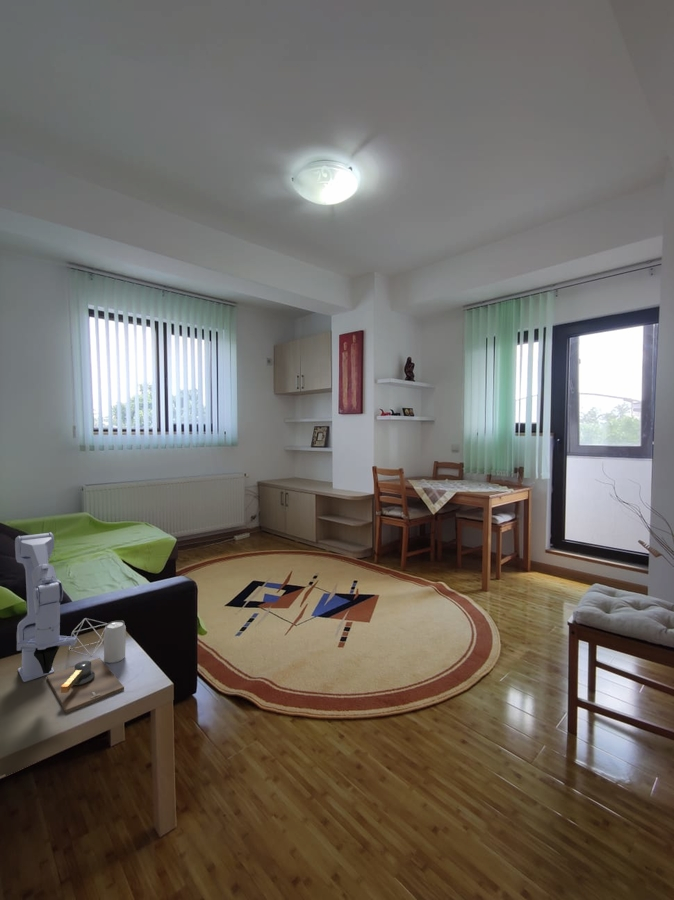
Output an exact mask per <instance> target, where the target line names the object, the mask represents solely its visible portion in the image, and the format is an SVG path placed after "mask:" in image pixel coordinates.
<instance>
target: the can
mask: <svg viewBox="0 0 674 900" xmlns="http://www.w3.org/2000/svg"><path fill="white" fill-rule="evenodd" d="M105 627H106V628H105ZM105 627H104V629H105V630H103V631H104V632H103V634H104V635H103V638H104V641H103V662H104V663H105V664H106V663H107V664H116V663H119V662H121V661H123V660H124V658H126V643H127V642H126V641H127V640H126V638H127V636H126V634H127V629H126V628H127V627H126V625H125V621H124V620H114V621H110V622H108V623H107V624H106V625H105Z"/></svg>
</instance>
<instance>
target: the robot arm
mask: <svg viewBox="0 0 674 900" xmlns="http://www.w3.org/2000/svg"><path fill="white" fill-rule="evenodd" d="M54 548H55V536H54V533H52V532H51V531H50V532H44V533H38V534H37V533H35V534H27V535H18V536H17V537H15V539H14V549H15V560H16V563H19V564H22V565H23V568H24V569H25V571H24V572H25V584H26V585H25V588H26V590H25V591H26V592H25V593H26V609H27V614H26V616H25V617H23V618H22V619H21V620H20V621H19V622H18V624H17V627H16V628H17V629H16V651H17V652H18V651H21V667H19V668H17V671H18V674H19V675H20V678H21V680H22V681H23V683H26V682H29V681H32V680H36V679H38V678H41V677H44V676H47V675H50V674H53V673H55V670H54V667H53V664H54V661H55V658H56V655H57V653H58V651H59V649H60V648H61V647H68V646H69V645H70V646H71V647H75V646H77V644H78V640H77V638H78V636H76V637H75V636H72V637H71V635H70V636H67V635H60V632H61V631H60V630H61V626H60V625H61V624H60V623H61V602H62V601H63V597H64V588H63V584H62V582H61V580H60V579H59V578H57V573H56V570H55V567H54V566H53V565H52V564H50V562H49V559H50V558H51V556H52V554H53V551H54Z"/></svg>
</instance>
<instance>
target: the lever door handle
mask: <svg viewBox="0 0 674 900" xmlns="http://www.w3.org/2000/svg"><path fill="white" fill-rule="evenodd" d="M90 661H91V660H83V661H80V662H78V663H76V664H75V665H74V666H75V672H74V673H73V674H72V676H70V677H69V679H68V680H67V681H66V682H65V683H64V684H63V685H62V686H61V693H68V692H69V690H70V688H71V687H72V686H79V685H83V684H86V683H88V682H90V681H91V680H93V679H94V677H95V673H94V672H93V671H91V662H90Z"/></svg>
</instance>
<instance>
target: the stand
mask: <svg viewBox="0 0 674 900" xmlns="http://www.w3.org/2000/svg"><path fill="white" fill-rule="evenodd" d="M89 661H90V662H91V671H93V672H94V673H95V677H94V679H93V680H91V681H90V682H88V683H86V684H83V685H79V686H72V687H71V688H70V690H69V692H68V693H61V686H62V685H63V684H64V683H65V682H66V681H67V680H68V679H69V677H70V676H72V674H73V673H74V672H75V665H74V666H72V667H71V666H70V667H68V668H66V669H63V670H60V671H55V672H53V673H51V674H48V675H46V680H47V681H48V684H49V686H50V687H51V689H52V690H53V692H54V693H53V694H55V696H56V698H57V699H58V702H59V703H60V705H61V707H62V709H63V710H64V712H65V713H66V714H68V713H71V712H73V711H75V710H77V709H80V708H82V707H86V706H87V705H90V704H93V703H95V702H97V701H100V700H103V699H106V698H107V697H110V696H112V695H115V694H118V693H121V692H123V691H124V690H125V686H124V685H123V684H122V682H121V681H120V680H119V679H118V678H117V676H116V675H115V674H114V673H113V671H112V670H111V669H110V668H109V667H108V665H106V662H105V661H104V660H103V659H102V658H100V657H98V658H95V659H92V660H89ZM122 690H123V691H122ZM117 692H118V693H117Z"/></svg>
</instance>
